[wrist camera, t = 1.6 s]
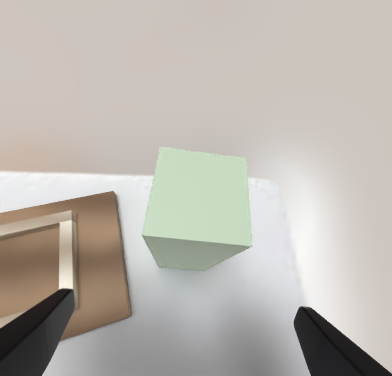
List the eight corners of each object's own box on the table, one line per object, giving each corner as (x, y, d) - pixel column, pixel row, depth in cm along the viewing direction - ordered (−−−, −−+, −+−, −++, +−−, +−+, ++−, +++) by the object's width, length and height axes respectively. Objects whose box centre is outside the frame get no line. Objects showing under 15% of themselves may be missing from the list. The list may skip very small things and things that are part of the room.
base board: (131, 314, 17) (126, 318, 15) (-110, 399, 13) (-159, 419, 11) (116, 195, 22) (110, 186, 20) (-62, 231, 18) (-90, 224, 16)
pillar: (203, 270, 19) (252, 246, 8) (158, 266, 19) (141, 234, 7) (205, 227, 21) (246, 158, 10) (165, 223, 21) (160, 146, 10)
